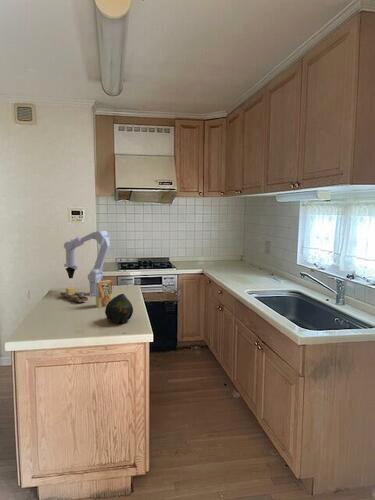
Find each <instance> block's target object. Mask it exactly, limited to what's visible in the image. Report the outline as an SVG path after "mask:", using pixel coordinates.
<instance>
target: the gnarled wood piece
mask: <svg viewBox="0 0 375 500" xmlns="http://www.w3.org/2000/svg"><path fill="white" fill-rule="evenodd" d="M59 293H60V296H61V297H62V296H63V297H65V298H67V301H68V302H72V301H75V302H78V303H81V302H86V301H88V300H89V299H88V296H85V293H83V292H79V293H76V292H74V294H73V295H68V294H66V291H65V292H62V291H60V292H59Z"/></svg>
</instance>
